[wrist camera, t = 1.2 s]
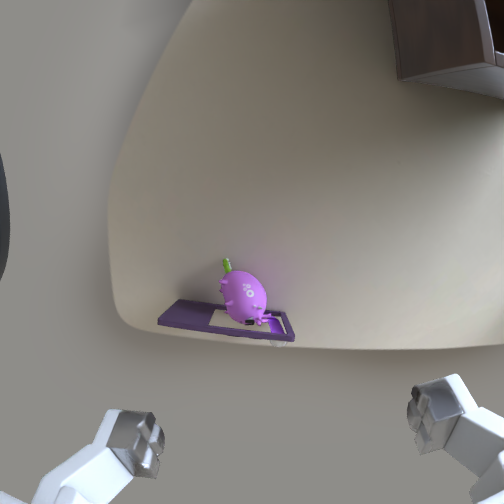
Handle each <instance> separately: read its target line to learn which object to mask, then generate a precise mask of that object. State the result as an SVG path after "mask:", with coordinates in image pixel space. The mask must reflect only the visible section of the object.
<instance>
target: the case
mask: <svg viewBox="0 0 504 504" xmlns="http://www.w3.org/2000/svg"><path fill="white" fill-rule="evenodd" d="M388 3H389V9H390V16H391V22H392V29H393V37H394V45H395V54H396V64H397V76H398V80H400V81H409V82H417V83H424V84H431V85H437V86H443V87H449V88H454V89H460V90H465V91H469V92H474V93H479V94H483V95H487V96H491V97H495V98H499V99H503V100H504V0H388Z"/></svg>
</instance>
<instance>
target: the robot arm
mask: <svg viewBox="0 0 504 504" xmlns="http://www.w3.org/2000/svg"><path fill="white" fill-rule="evenodd" d="M411 394H412V397H413V399H412V400H411V401H410V402H409V403H408V408H407V418H408V423H409V426H410V429H412V430H413V431H415V432H416V433H417V434H416V437H415V442H416V445H417V448H418V451H419V453H420V455H423V454H426V453H430V452H433V451H436V450H440V449H443V448H444V450H445V451H446V452H447V453H449V454H450V455H451V456H452V457H454V458H455V459H456V460H457V461H459V462H460V463H461V464H462V465H464V466H465V467H466V468H468V469H469V470H470V471H472V472H473V473H474V474H475V475H477V476H478V477H479V480H478V481H477V482H476V483H475V484H474V485H473V486H472V488H471V489H470V491H469V494H470V496H471V499H472V502H473V504H504V418H502V417H500V416H498V415H496V414H494V413H492V412H491V411H489V410H487V409H485V408H483V407H481V408H478V407H477V405H476V403H475V401H474V400H473V398H472V396H471V395H470V393H469V391H468V390H467V388H466V386H465V385H464V383H463V381H462V380H461V378H460V377H459V375H458V374H453V375H450V376H447V377H443V378H439V379H436V380H432V381H428V382H425V383H421V384H418V385H415V386H414V387H413V388H412V392H411ZM155 420H156V418H155V417H154V415H153V414H152V412H140V411H129V410H119V409H109V410H108V411H107V412H106V414H105V416H104V418H103V420H102V423H101V425H100V427H99V429H98V432H97V434H96V436H95V438H94V441H93V443H92V445H91V444H88V445H86V446H85V447H84V448H82V449H81V450H80V451H78V452H77V453H76V454H74V455H73V456H71V457H70V458H68V459H67V460H66V461H64V462H63V463H62V464H60V465H59V466H57V467H56V468H54V469H53V470H52V471H50V472H49V473H47V474H46V475H44V476H43V477H42V479H41V481H40V484H39V486H38V488H37V491H36V493H35V495H34V497H33V499H32V502H31V504H108V503H109V502H110V501H111V500H112V499H113V498H114V497H115V496H116V495H117V494H118V493H119V492H120V491H121V490H122V489H123V488H124V487H125V486H126V485H127V484H128V483H129V482H130V481H131V480H132V479H133V476H136V477H145V478H156V477H157V473H158V470H159V466H160V461H159V459H158V458H157V457H158V456H159V455H160V454H161V453H163V450H164V446H165V437H164V433H163V430H162V429H161V427H160V426H158V425H157V424H155ZM0 504H27V503H25V502H23V501H20V500H18V499H16V498H14V497H12V496H10V495H8V494H6V493H5V492H3V491H1V490H0Z"/></svg>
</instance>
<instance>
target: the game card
mask: <svg viewBox="0 0 504 504" xmlns="http://www.w3.org/2000/svg"><path fill="white" fill-rule="evenodd" d="M228 261H229V259H228V258H227V259H223V266H224V269H225V273H226V274H225V275H224V277H223V278H222V280H219V283H221V289H220V290H219V291H220V292H221V293H223V296H224V299H225V303H224V305H219V304H211V303H204V302H196V301H189V300H182V299H178V300H177V301H176V302H175V303H174V304H173V305H172V306H171V307H170V308H169V309H167V310H166V311H165V312H164V313H163V314H162V315H161V316H160V317H159V318H158V323H157V324H158V325H162V326H168V327H174V328H181V329H187V330H194V331H201V332H208V333H216V334H223V335H228V336H235V337H248V338H253V339H267V340H270V343H271V344H272V345H273V346H275V347H282V346H284V345H285V344H286V343H287V342H294V339H295V334H294V332H293V329H292V327H291V325H290V323H289V320H288V318H287V316H286V313H285V312H280V311H270V310H265V308H266V304H267V296H266V292H265V290H264V288H263V286H262V285H261V283H260V282H259V281H258V280H257V279H256V278H255V277H254V276H252V275H251V274H249V273H247V272H244V271H231V268H232V267H231V265H229V264H231V263H230V262H229V263H228ZM215 309H219V310H226V311H225V312H224V313H227V314H229V315H230V317H231V318H232V319H233V320H235V321H237V322H239V323H242V324H245V325H254V323H255V322H256V323H257V325H259V326H261V324H260V323H261V322H262V323H266V322H268V323H269V326H270V329H271V333H270V332H260V331H251V330H242V329H234V328H226V327H218V326H210V325H208V324H209V322H210V320H211V317H212V315H213V313H214V311H215ZM273 316H279V317H281V318H282V321H283V324H284V327H285V330H286V332H287V334H285V333H284V331H283V328H282V326H281V324H280V322H279V320H278V319H276V318H275V317H273ZM264 318H267V319H264Z"/></svg>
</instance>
